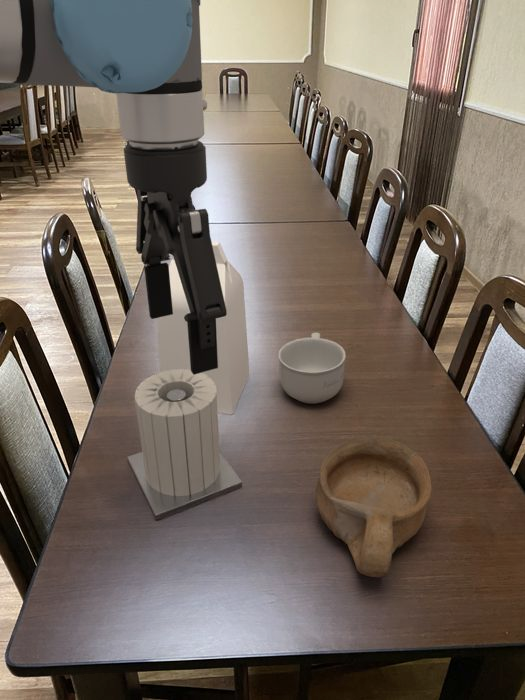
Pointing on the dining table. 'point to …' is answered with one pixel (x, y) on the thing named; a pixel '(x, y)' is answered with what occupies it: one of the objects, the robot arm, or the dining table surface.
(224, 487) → the towel stand
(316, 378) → the teacup
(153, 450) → the paper towel roll
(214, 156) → the dining table surface
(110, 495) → the dining table surface
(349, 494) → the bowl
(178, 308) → the milk
